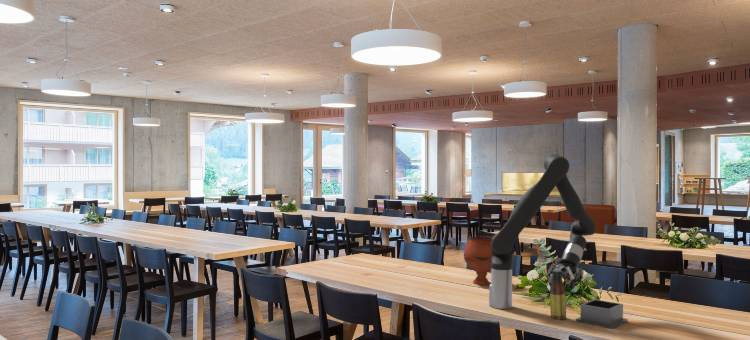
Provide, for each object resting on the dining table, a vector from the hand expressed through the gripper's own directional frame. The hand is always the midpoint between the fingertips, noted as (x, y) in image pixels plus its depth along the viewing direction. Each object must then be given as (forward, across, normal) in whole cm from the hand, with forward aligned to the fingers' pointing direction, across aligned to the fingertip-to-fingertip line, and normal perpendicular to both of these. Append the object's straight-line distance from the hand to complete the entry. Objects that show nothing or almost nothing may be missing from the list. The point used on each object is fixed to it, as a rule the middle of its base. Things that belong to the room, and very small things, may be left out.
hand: (559, 287), depth 232 cm
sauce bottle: (+10, 0, +8) cm, 13 cm away
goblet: (-17, -63, +35) cm, 74 cm away
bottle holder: (+4, +15, +14) cm, 21 cm away
